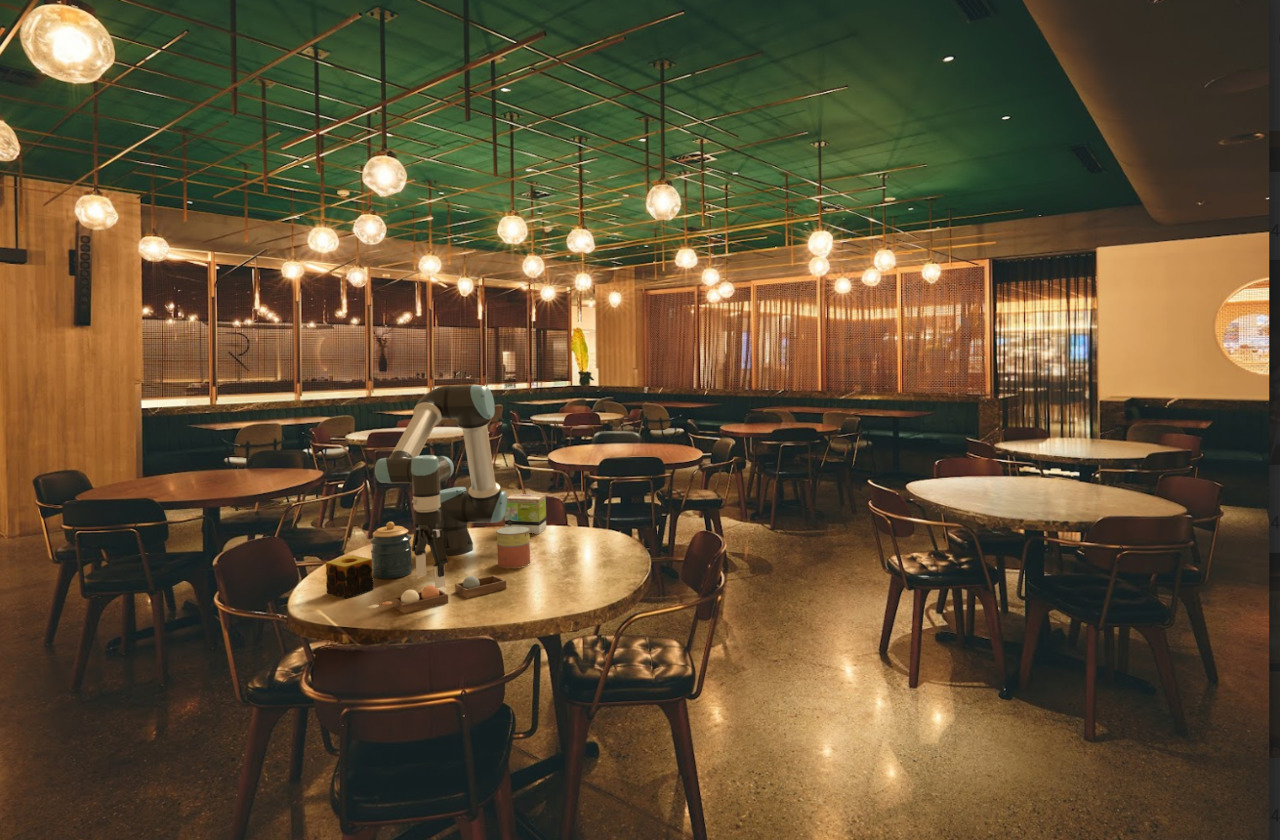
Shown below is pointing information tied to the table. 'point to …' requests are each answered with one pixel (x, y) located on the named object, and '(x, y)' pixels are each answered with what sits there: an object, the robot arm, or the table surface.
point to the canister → (391, 552)
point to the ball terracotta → (430, 592)
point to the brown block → (349, 576)
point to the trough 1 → (420, 603)
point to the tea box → (526, 512)
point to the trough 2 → (482, 586)
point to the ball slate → (471, 582)
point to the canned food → (513, 546)
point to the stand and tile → (378, 605)
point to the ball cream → (409, 596)
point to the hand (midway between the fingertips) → (430, 581)
